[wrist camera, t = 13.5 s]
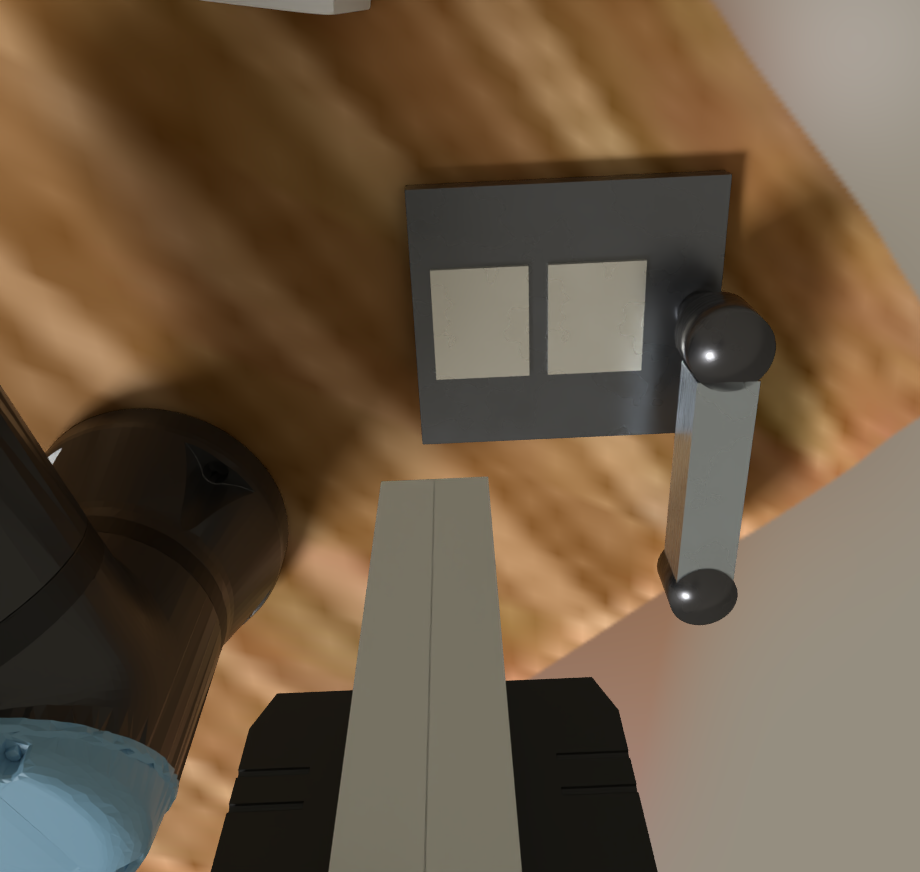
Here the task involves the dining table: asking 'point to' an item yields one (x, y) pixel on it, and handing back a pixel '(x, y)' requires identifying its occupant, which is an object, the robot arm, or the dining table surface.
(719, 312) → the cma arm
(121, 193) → the dining table surface
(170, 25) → the dining table surface
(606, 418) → the plate
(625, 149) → the dining table surface
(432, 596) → the robot arm
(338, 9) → the milk carton
